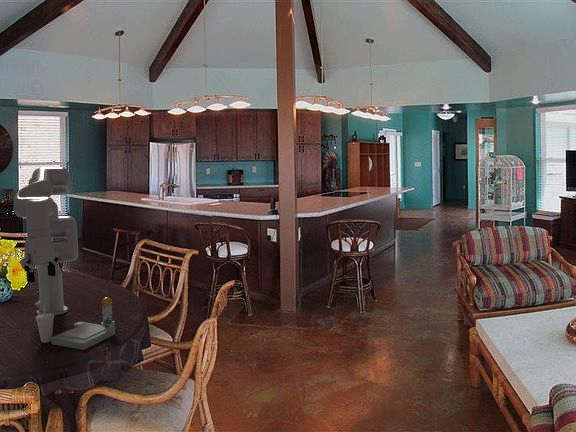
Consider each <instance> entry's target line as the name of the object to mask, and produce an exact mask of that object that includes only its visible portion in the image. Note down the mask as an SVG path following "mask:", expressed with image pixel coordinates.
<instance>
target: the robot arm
mask: <svg viewBox="0 0 576 432" xmlns="http://www.w3.org/2000/svg"><path fill="white" fill-rule="evenodd" d="M72 191H73V182H72V177H71V173H70V171H69V170H68V169H67V168H66V167H63V166H62V167H60V166H59V167H57V166H54V167H53V166H50V167H48V166H46V167H38V168H36V169H35V170H34V171H32V174H31V178H29V180H28V185H26V186H24V187H22V188H20V189H19V190H18V191H17V192H16V193H15V196H14V201H13V213H14V215H15V216H16V217H18V218H22V219H23V218H24V219H26V234H27V237H26V238H25V241H24V248H23V249H24V250H23V252H24V254H23V255H24V256H23V258H22V259H21V260H20V261H19V264H20V266H21V268H22V269H23V271H24V272H26V282H27V283H35V282H36V280H35V279H36V278H35V277H36V275H35V271H34V269H35V267H37V277H38V279H37V280H38V295H39V300H37V301H36V302H34V306H35V307H38V309H37V310H36V315H37V316H38V315H41V314H44V308H43V305H45V314H47V313H50V314H54V317H55V316H60V315H63V314H65V313H67V312H68V311H69V309H68V308H69V307H68V306H66V305H65V304H64V303H65V302H64V287H63V286H64V285H63V272H62V269H61V267H59V266H58V265H57V263H69V262H74V261H77V260H78V257H79V242H78V241H79V239H78V225H77V221H76V218H75V217H74V216H70V215H62V216H61V215H59V206H58V204H57V203H56V201H55V200H54V199H53V198H52V197H51V196H67V195H69V194H71V193H72ZM53 239H60V240H53Z"/></svg>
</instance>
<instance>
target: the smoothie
mask: <svg viewBox="0 0 576 432" xmlns="http://www.w3.org/2000/svg"><path fill="white" fill-rule="evenodd" d="M43 308H44V314H41V315H37V316H35V321H36V324H37V327H38V332H39V334H38V335H39V337H40V342H41V343H49V342H52V340H51V338H52V337H53V329H54V318H55V316H54V314H50V313H47V314H45V305H43Z"/></svg>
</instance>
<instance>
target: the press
mask: <svg viewBox="0 0 576 432" xmlns="http://www.w3.org/2000/svg"><path fill="white" fill-rule="evenodd" d="M76 326H77V327H76ZM115 327H116V326H115ZM115 327H113V328H112V327H105V326H101V324H97V323H91V322H85V321H78V322H75V323H73V327H72V328H69V330H65V331H63V332H60V333H59V334H56V335H54V336H52V338H51V340H52V341H51V344H52V345H54V346H55V345H56V346H61V347H67V348H71V349H76V350H83V351H85V350H87V349H88V348H91V347H93V346H94V345H95V346H96V344H98V343H100V342H102V341H105V340H107V339H108V338H110V337H113V336H115V335H116V328H115Z"/></svg>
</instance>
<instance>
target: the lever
mask: <svg viewBox="0 0 576 432" xmlns="http://www.w3.org/2000/svg"><path fill="white" fill-rule="evenodd" d="M100 302H101V305H102V306H101V307H102V308H101V309H102V313H101V314H102V322H100V325H101V326H105V327H112V328H113V327H116V321H115V320H113V305H112V304H113V299H112V298H111V297H108V296H105V297H103V298H102V299H101V301H100Z"/></svg>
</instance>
